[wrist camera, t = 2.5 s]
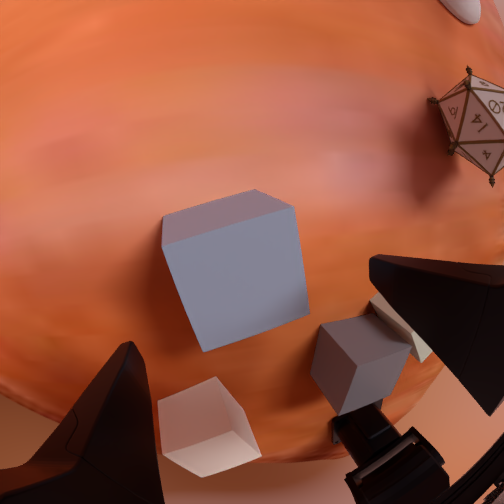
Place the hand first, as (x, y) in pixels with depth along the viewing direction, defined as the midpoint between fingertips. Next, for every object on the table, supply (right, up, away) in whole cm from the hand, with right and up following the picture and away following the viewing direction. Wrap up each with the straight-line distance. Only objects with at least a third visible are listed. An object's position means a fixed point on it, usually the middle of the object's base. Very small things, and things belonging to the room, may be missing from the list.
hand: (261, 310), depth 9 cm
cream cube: (-4, -10, +10) cm, 15 cm away
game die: (+16, +13, +8) cm, 22 cm away
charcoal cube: (+7, -5, +12) cm, 15 cm away
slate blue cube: (-2, +2, +6) cm, 7 cm away
